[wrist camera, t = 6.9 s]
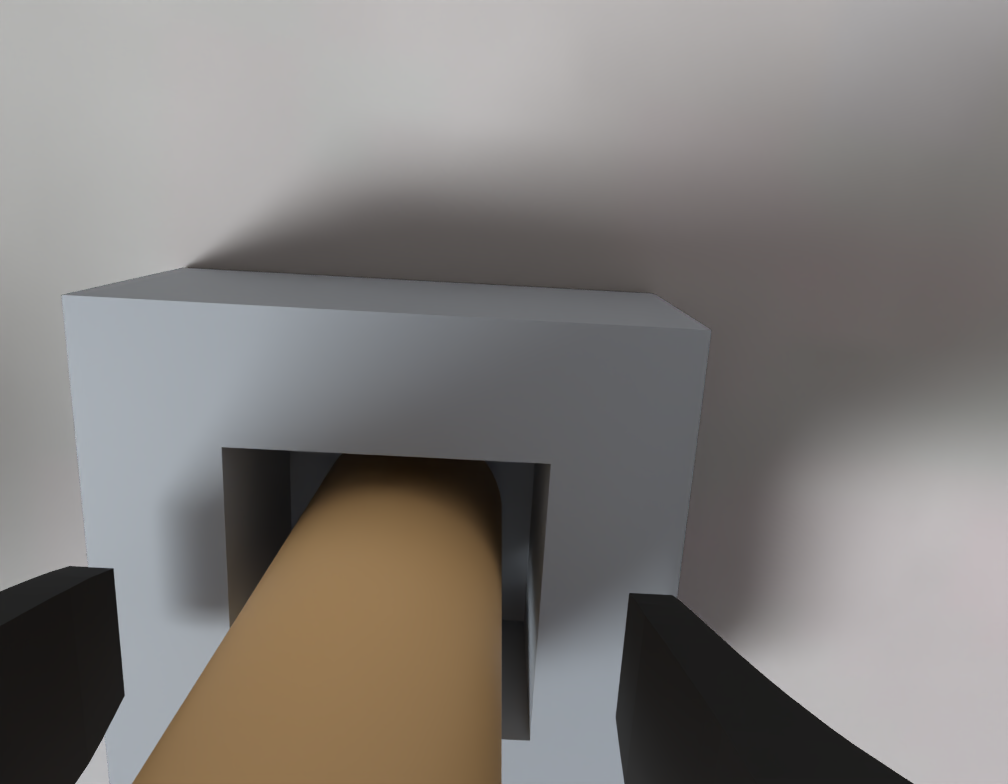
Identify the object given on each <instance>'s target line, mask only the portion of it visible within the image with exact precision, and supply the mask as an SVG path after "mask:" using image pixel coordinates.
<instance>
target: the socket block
mask: <svg viewBox="0 0 1008 784" xmlns="http://www.w3.org/2000/svg"><path fill="white" fill-rule="evenodd" d="M61 296H62V306H63V316H64V326H65V336H66V347H67V357H68V367H69V377H70V387H71V397H72V408H73V418H74V428H75V438H76V448H77V458H78V469H79V479H80V489H81V499H82V509H83V519H84V530H85V540H86V550H87V560H88V567H96V568H114V579H115V590H116V601H117V613H118V624H119V635H120V646H121V658H122V669H123V680H124V691H125V696H124V698H123V700H122V702H121V704H120V706H119V708H118V710H117V712H116V714H115V716H114V718H113V720H112V722H111V724H110V726H109V728H108V730H107V731H106V733H105V743H106V753H107V763H108V773H109V784H132V783H133V781H134V780H135V778H136V776H137V775H138V773H139V772H140V770H141V768H142V767H143V765H144V764H145V762H146V761H147V759H148V757H149V756H150V754H151V753H152V751H153V749H154V748H155V746H156V745H157V743H158V742H159V740H160V738H161V737H162V735H163V734H164V732H165V730H166V729H167V727H168V726H169V724H170V723H171V721H172V719H173V718H174V716H175V715H176V713H177V711H178V710H179V708H180V707H181V705H182V704H183V702H184V700H185V699H186V697H187V696H188V694H189V692H190V691H191V689H192V688H193V686H194V685H195V683H196V681H197V680H198V678H199V677H200V675H201V673H202V672H203V670H204V669H205V667H206V666H207V664H208V662H209V661H210V659H211V658H212V656H213V654H214V653H215V651H216V650H217V648H218V647H219V645H220V643H221V642H222V640H223V639H224V637H225V635H226V634H227V632H228V631H229V629H230V628H231V626H232V624H233V623H234V621H235V620H236V618H237V616H238V615H239V613H240V612H241V610H242V609H243V607H244V605H245V604H246V602H247V601H248V599H249V597H250V596H251V594H252V593H253V591H254V590H255V588H256V586H257V585H258V583H259V582H260V580H261V578H262V577H263V575H264V574H265V572H266V571H267V569H268V567H269V566H270V564H271V563H272V561H273V559H274V558H275V556H276V555H277V553H278V552H279V550H280V548H281V547H282V545H283V544H284V542H285V540H286V539H287V537H288V536H289V534H290V533H291V531H292V529H293V528H294V526H295V525H296V523H297V521H298V520H299V518H300V517H301V515H302V514H303V512H304V510H305V509H306V507H307V506H308V504H309V502H310V501H311V499H312V498H313V496H314V495H315V493H316V491H317V490H318V488H319V487H320V485H321V483H322V482H323V480H324V479H325V477H326V476H327V474H328V472H329V471H330V469H331V468H332V466H333V464H334V463H335V462H336V460H337V459H338V458H339V456H340V455H341V454H342V453H347V454H366V455H386V456H406V457H426V458H445V459H465V460H484V461H485V462H486V463H487V465H488V467H489V468H490V470H491V471H492V473H493V475H494V477H495V480H496V482H497V485H498V488H499V491H500V496H501V503H502V784H624V777H623V770H622V763H621V757H620V749H619V741H618V733H617V725H616V718H615V717H616V708H617V699H618V690H619V681H620V672H621V663H622V654H623V644H624V635H625V626H626V617H627V608H628V599H629V593H641V594H662V595H673V596H674V597H676V598H677V595H678V588H679V580H680V572H681V564H682V556H683V549H684V541H685V533H686V525H687V518H688V510H689V502H690V494H691V486H692V479H693V471H694V463H695V455H696V448H697V440H698V432H699V424H700V416H701V409H702V401H703V393H704V385H705V378H706V370H707V362H708V354H709V346H710V339H711V331H712V330H711V329H709V328H708V327H706V326H704V325H703V324H701V323H700V322H698V321H697V320H695V319H693V318H692V317H690V316H689V315H687V314H686V313H684V312H682V311H681V310H679V309H678V308H676V307H675V306H673V305H671V304H670V303H668V302H667V301H665V300H664V299H662V298H660V297H659V296H657V295H656V294H652V293H634V292H616V291H598V290H579V289H561V288H543V287H525V286H507V285H488V284H470V283H452V282H434V281H415V280H397V279H379V278H361V277H342V276H324V275H306V274H288V273H270V272H251V271H233V270H215V269H197V268H179V269H175V270H170V271H166V272H161V273H157V274H153V275H148V276H144V277H139V278H135V279H130V280H126V281H121V282H117V283H112V284H108V285H103V286H99V287H95V288H90V289H86V290H81V291H77V292H72V293H68V294H63V295H61Z"/></svg>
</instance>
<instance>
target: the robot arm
mask: <svg viewBox="0 0 1008 784" xmlns="http://www.w3.org/2000/svg"><path fill="white" fill-rule="evenodd" d="M124 696H125V691H124V680H123V669H122V658H121V646H120V635H119V624H118V613H117V601H116V590H115V579H114V568H96V567H75V566H69V567H65V568H62V569H59V570H55V571H52V572H49V573H46V574H44V575H41V576H38V577H35V578H33V579H30V580H28V581H25V582H23V583H20V584H18V585H15V586H13V587H10V588H8V589H5V590H3V591H0V784H75V783H76V781H77V780H78V779H79V777H80V776H81V774H82V773H83V771H84V770H85V768H86V767H87V765H88V764H89V762H90V760H91V759H92V757H93V755H94V753H95V751H96V750H97V748H98V746H99V744H100V742H101V741H102V739H103V737H104V735H105V733H106V731H107V730H108V728H109V726H110V724H111V722H112V720H113V718H114V716H115V714H116V712H117V710H118V708H119V706H120V704H121V702H122V700H123V698H124ZM615 718H616V725H617V733H618V741H619V749H620V757H621V763H622V770H623V777H624V784H913V783H912V782H910V781H908V780H907V779H905V778H904V777H902V776H901V775H899V774H898V773H896V772H895V771H893V770H892V769H890V768H889V767H887V766H886V765H884V764H883V763H881V762H879V761H878V760H876V759H875V758H873V757H872V756H870V755H869V754H867V753H866V752H864V751H863V750H861V749H860V748H858V747H857V746H855V745H854V744H852V743H851V742H850V741H848V740H847V739H845V738H844V737H843V736H841V735H840V734H838V733H837V732H835V731H834V730H833V729H831V728H830V727H829V726H827V725H826V724H825V723H823V722H822V721H821V720H819V719H818V718H817V717H816V716H814V715H813V714H812V713H810V712H809V711H808V710H806V709H805V708H804V707H803V706H801V705H800V704H799V703H797V702H796V701H795V700H793V699H792V698H791V697H790V696H788V695H787V694H786V693H785V692H783V691H782V690H781V689H780V688H779V687H777V686H776V685H775V684H774V683H772V682H771V681H770V680H769V679H768V678H766V677H765V676H764V675H763V674H762V673H760V672H759V671H758V670H757V669H756V668H755V667H753V666H752V665H751V664H750V663H749V662H748V661H747V660H745V659H744V658H743V657H742V656H741V655H740V654H739V653H737V652H736V651H735V650H734V649H733V648H732V647H731V646H730V645H728V644H727V643H726V642H725V641H724V640H723V639H722V638H721V637H720V636H718V635H717V634H716V633H715V632H714V631H713V630H712V629H711V628H710V627H708V626H707V625H706V624H705V623H704V622H703V621H702V620H701V619H700V618H699V617H697V616H696V615H695V614H694V613H693V612H692V611H691V610H690V609H689V608H687V607H686V606H685V605H684V604H683V603H682V602H681V601H679V600H678V599H677V598H676V597H674V596H673V595H662V594H641V593H629V599H628V608H627V617H626V626H625V635H624V644H623V654H622V663H621V672H620V681H619V690H618V699H617V708H616V717H615Z"/></svg>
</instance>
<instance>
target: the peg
mask: <svg viewBox="0 0 1008 784" xmlns="http://www.w3.org/2000/svg"><path fill="white" fill-rule="evenodd" d="M132 784H502V503H501V496H500V491H499V488H498V485H497V482H496V480H495V477H494V475H493V473H492V471H491V470H490V468H489V467H488V465H487V463H486V462H485V461H484V460H465V459H445V458H426V457H406V456H386V455H366V454H347V453H342V454H341V455H340V456H339V458H338V459H337V460H336V462H335V463H334V464H333V466H332V468H331V469H330V471H329V472H328V474H327V476H326V477H325V479H324V480H323V482H322V483H321V485H320V487H319V488H318V490H317V491H316V493H315V495H314V496H313V498H312V499H311V501H310V502H309V504H308V506H307V507H306V509H305V510H304V512H303V514H302V515H301V517H300V518H299V520H298V521H297V523H296V525H295V526H294V528H293V529H292V531H291V533H290V534H289V536H288V537H287V539H286V540H285V542H284V544H283V545H282V547H281V548H280V550H279V552H278V553H277V555H276V556H275V558H274V559H273V561H272V563H271V564H270V566H269V567H268V569H267V571H266V572H265V574H264V575H263V577H262V578H261V580H260V582H259V583H258V585H257V586H256V588H255V590H254V591H253V593H252V594H251V596H250V597H249V599H248V601H247V602H246V604H245V605H244V607H243V609H242V610H241V612H240V613H239V615H238V616H237V618H236V620H235V621H234V623H233V624H232V626H231V628H230V629H229V631H228V632H227V634H226V635H225V637H224V639H223V640H222V642H221V643H220V645H219V647H218V648H217V650H216V651H215V653H214V654H213V656H212V658H211V659H210V661H209V662H208V664H207V666H206V667H205V669H204V670H203V672H202V673H201V675H200V677H199V678H198V680H197V681H196V683H195V685H194V686H193V688H192V689H191V691H190V692H189V694H188V696H187V697H186V699H185V700H184V702H183V704H182V705H181V707H180V708H179V710H178V711H177V713H176V715H175V716H174V718H173V719H172V721H171V723H170V724H169V726H168V727H167V729H166V730H165V732H164V734H163V735H162V737H161V738H160V740H159V742H158V743H157V745H156V746H155V748H154V749H153V751H152V753H151V754H150V756H149V757H148V759H147V761H146V762H145V764H144V765H143V767H142V768H141V770H140V772H139V773H138V775H137V776H136V778H135V780H134V781H133V783H132Z"/></svg>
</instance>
